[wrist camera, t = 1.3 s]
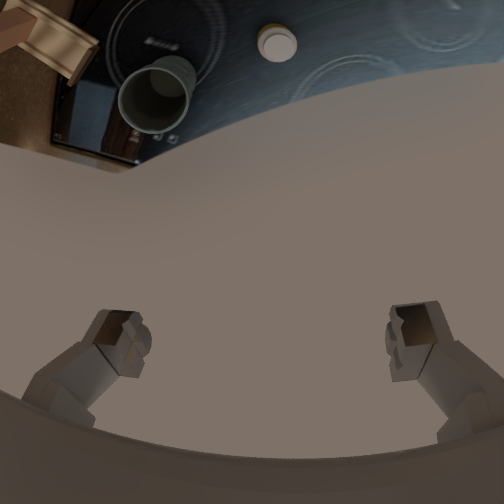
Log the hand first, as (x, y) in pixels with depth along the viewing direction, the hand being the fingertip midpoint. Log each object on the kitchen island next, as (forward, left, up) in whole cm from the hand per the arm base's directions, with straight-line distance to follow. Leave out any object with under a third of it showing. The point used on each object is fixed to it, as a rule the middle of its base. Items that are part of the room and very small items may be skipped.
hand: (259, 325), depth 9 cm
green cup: (+7, -13, -47) cm, 49 cm away
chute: (-5, -38, -46) cm, 60 cm away
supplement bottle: (-1, +3, -47) cm, 47 cm away
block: (-8, -42, -45) cm, 62 cm away
